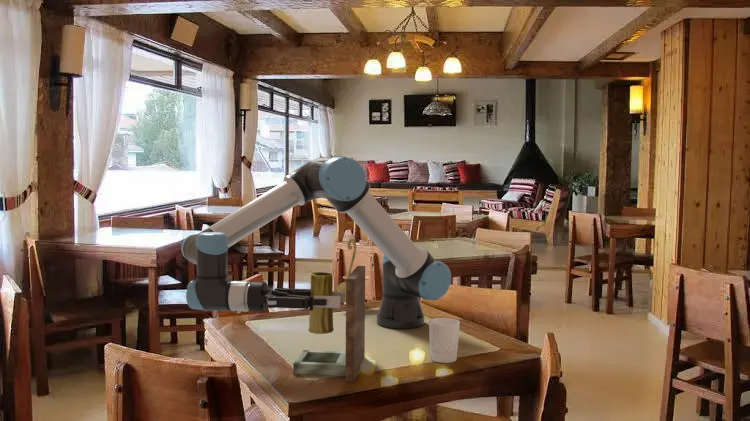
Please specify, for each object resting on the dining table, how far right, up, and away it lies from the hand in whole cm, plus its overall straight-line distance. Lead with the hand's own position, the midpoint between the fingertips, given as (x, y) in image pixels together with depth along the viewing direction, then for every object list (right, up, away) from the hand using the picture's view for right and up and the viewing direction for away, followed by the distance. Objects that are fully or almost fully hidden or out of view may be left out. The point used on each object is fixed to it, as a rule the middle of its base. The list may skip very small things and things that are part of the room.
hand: (342, 299), depth 158 cm
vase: (-5, -8, +1) cm, 10 cm away
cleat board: (-3, -17, +1) cm, 17 cm away
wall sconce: (0, -13, +70) cm, 71 cm away
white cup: (+26, -17, +9) cm, 32 cm away
